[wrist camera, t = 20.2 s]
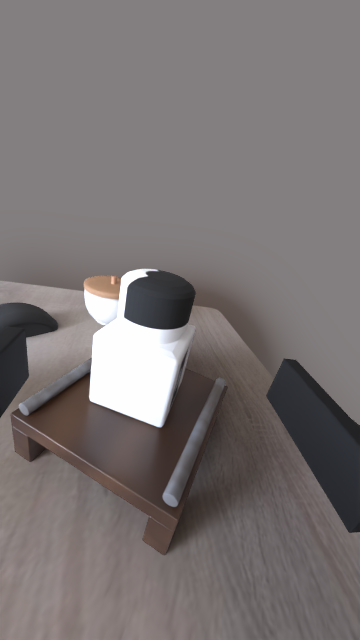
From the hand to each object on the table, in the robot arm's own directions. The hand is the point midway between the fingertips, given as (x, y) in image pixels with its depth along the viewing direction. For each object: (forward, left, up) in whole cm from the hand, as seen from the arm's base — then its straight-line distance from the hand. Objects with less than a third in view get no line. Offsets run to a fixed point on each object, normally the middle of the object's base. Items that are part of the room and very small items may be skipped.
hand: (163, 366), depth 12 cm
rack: (+5, -8, -16) cm, 18 cm away
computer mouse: (+32, -14, -16) cm, 38 cm away
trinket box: (+24, -28, -16) cm, 40 cm away
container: (+5, -9, -11) cm, 15 cm away
